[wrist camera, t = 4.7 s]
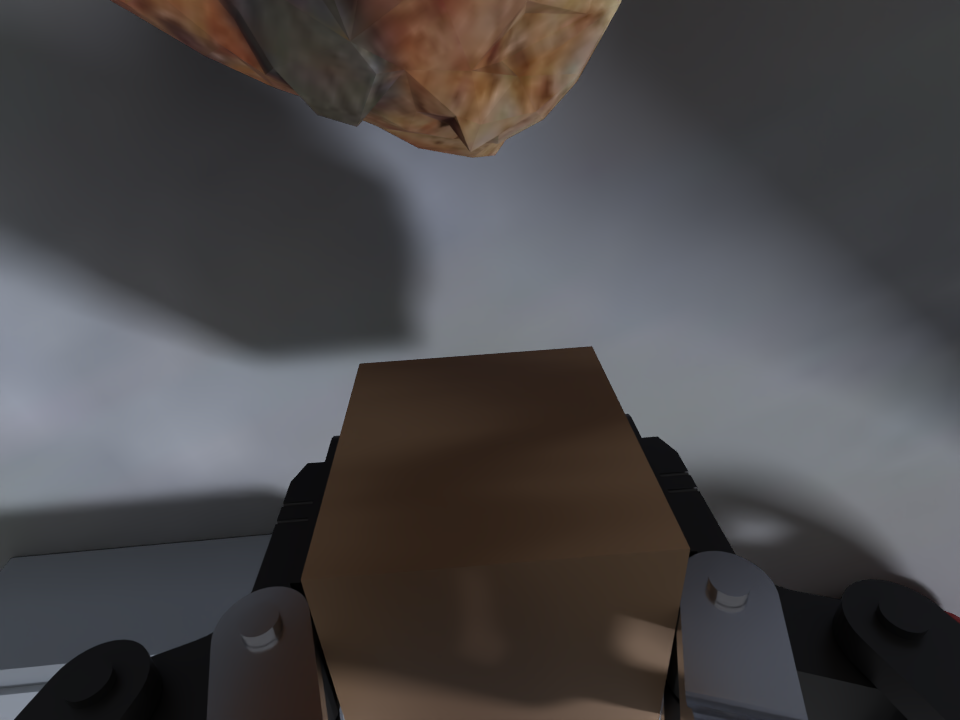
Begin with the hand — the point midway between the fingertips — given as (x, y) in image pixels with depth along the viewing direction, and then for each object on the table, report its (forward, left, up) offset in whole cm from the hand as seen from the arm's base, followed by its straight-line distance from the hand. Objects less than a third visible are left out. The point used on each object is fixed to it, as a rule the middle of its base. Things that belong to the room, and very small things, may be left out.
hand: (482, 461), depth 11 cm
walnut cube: (0, 0, -1) cm, 1 cm away
